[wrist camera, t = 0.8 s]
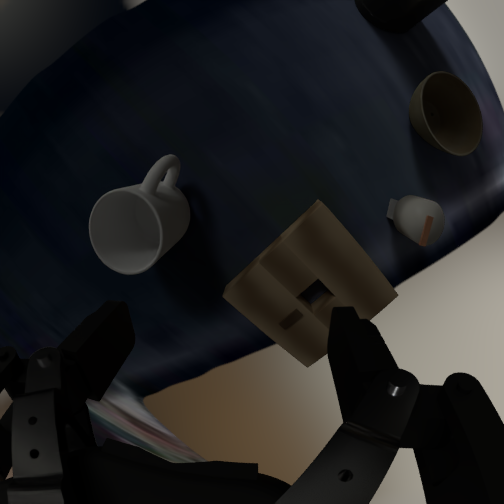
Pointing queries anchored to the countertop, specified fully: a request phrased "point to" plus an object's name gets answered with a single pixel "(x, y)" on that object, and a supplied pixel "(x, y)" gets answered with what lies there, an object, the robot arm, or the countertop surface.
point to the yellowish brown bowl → (446, 114)
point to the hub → (308, 284)
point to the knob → (417, 219)
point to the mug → (140, 220)
